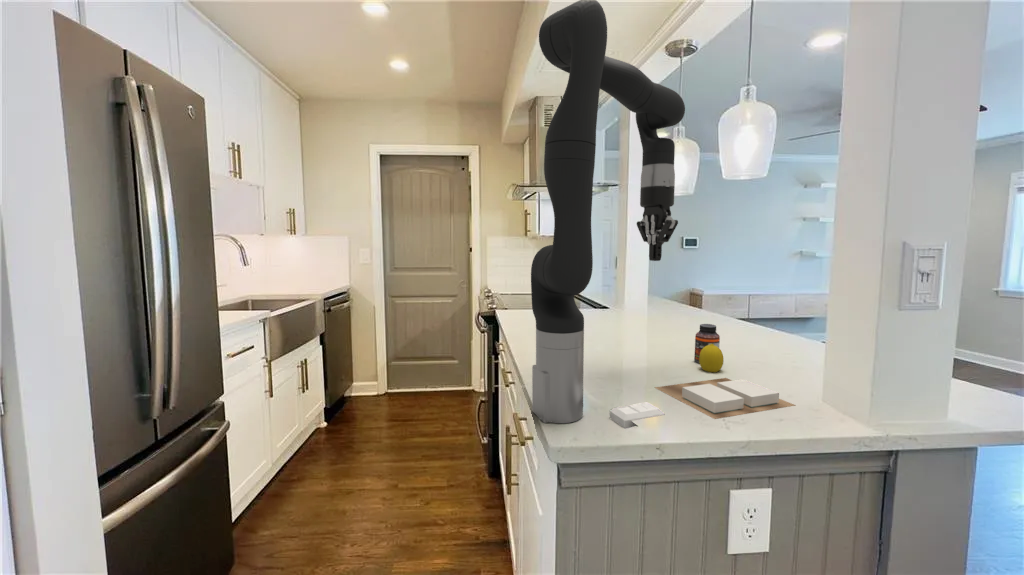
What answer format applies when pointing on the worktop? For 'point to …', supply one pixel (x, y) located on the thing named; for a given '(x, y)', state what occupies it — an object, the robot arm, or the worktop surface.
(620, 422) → the white light switch
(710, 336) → the supplement bottle
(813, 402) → the worktop surface
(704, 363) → the lemon
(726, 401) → the tile near
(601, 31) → the robot arm
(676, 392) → the board
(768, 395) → the tile far
